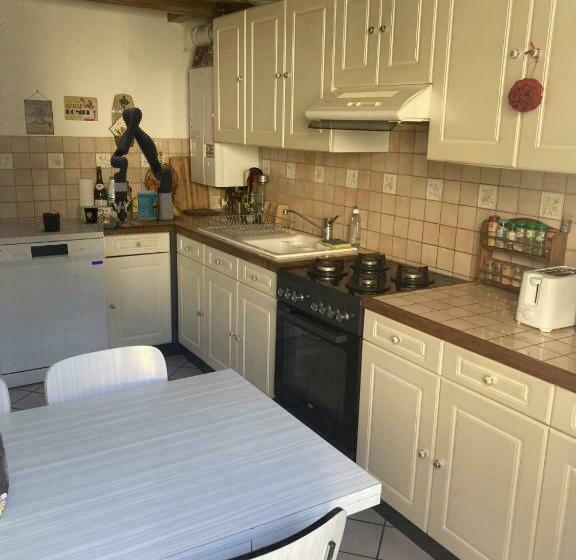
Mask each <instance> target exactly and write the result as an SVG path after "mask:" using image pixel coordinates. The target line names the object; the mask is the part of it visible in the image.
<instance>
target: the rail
mask: <svg viewBox="0 0 576 560" xmlns="http://www.w3.org/2000/svg"><path fill="white" fill-rule="evenodd" d="M138 225H139V226H144V222H140V220H134V221H129V224H121V226H120V227H121V228H125V227H137V226H138Z"/></svg>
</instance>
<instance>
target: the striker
mask: <svg viewBox="0 0 576 560" xmlns="http://www.w3.org/2000/svg"><path fill="white" fill-rule="evenodd" d="M129 222H130V221H129V220H128V219H126V218H125V215H124V209H123V208H120V219H117V217H115V216H110V223H114V226H118V227H121V224H129Z"/></svg>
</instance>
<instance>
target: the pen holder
mask: <svg viewBox="0 0 576 560" xmlns="http://www.w3.org/2000/svg"><path fill="white" fill-rule="evenodd" d="M42 223H43V228H44V229H43V230H44V231H45V232H47V233H48V232H49V233H51V232H60V230H61V213H60V212H56V213H52V212H44V213H43V212H42Z"/></svg>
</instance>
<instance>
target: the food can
mask: <svg viewBox="0 0 576 560" xmlns="http://www.w3.org/2000/svg"><path fill="white" fill-rule="evenodd" d="M136 194H137V195H136V196H137V218H138V221H156V220H158V206H157V190H138V191H137V193H136Z"/></svg>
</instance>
